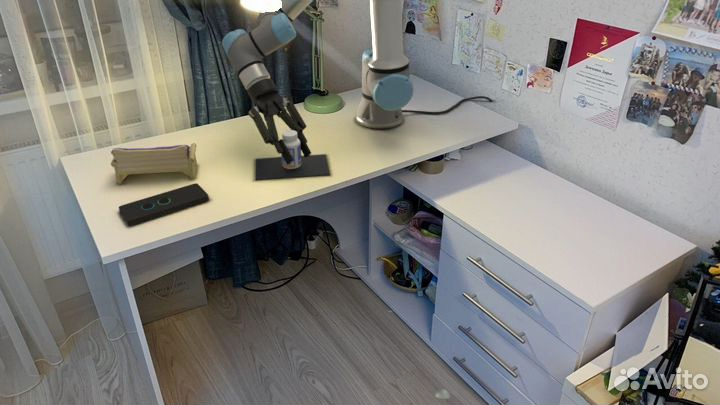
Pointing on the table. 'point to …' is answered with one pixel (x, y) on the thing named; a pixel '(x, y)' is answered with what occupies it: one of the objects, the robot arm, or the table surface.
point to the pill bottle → (292, 149)
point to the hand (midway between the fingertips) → (299, 158)
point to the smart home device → (163, 204)
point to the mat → (275, 169)
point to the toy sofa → (154, 160)
